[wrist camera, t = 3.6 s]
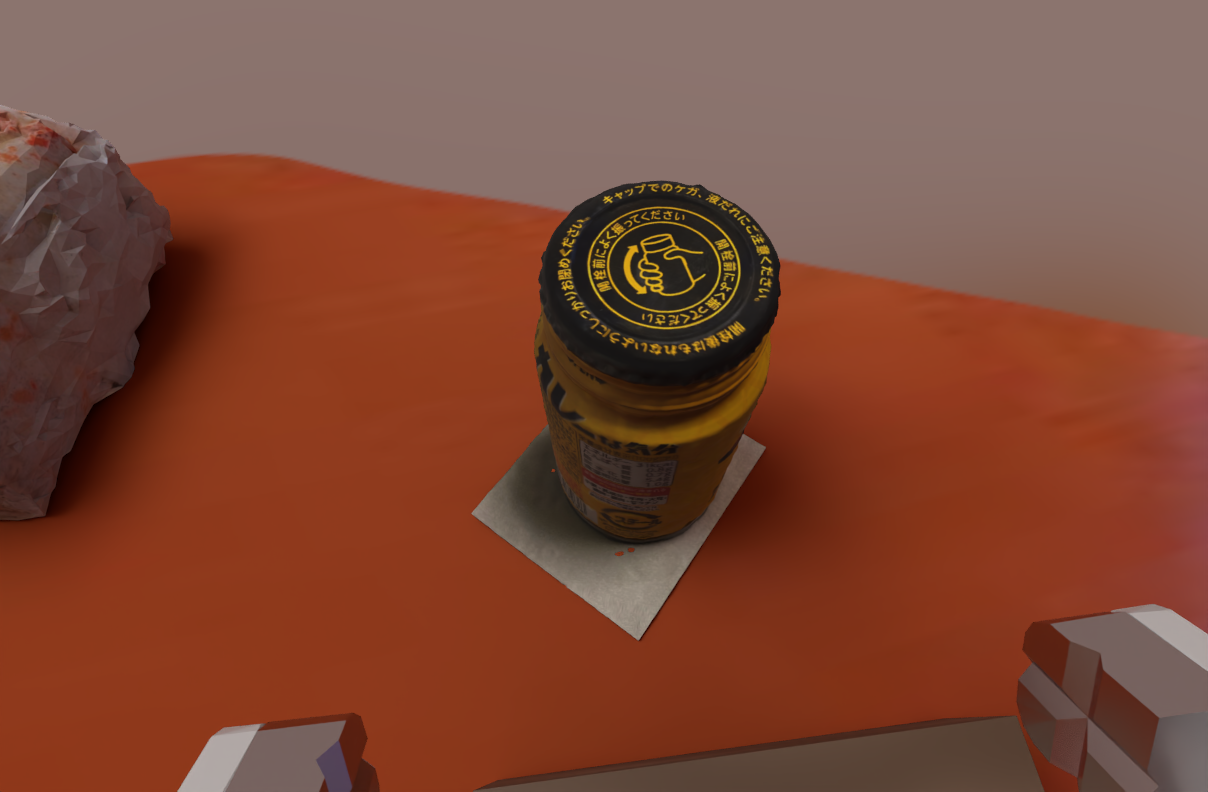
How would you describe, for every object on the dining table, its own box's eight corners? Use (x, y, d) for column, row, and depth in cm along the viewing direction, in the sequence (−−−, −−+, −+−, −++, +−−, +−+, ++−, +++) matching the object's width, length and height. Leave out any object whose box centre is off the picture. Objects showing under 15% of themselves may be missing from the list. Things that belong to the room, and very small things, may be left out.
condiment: (765, 449, 25) (880, 234, 14) (638, 641, 22) (663, 552, 11) (609, 353, 27) (606, 101, 16) (472, 516, 24) (357, 338, 13)
